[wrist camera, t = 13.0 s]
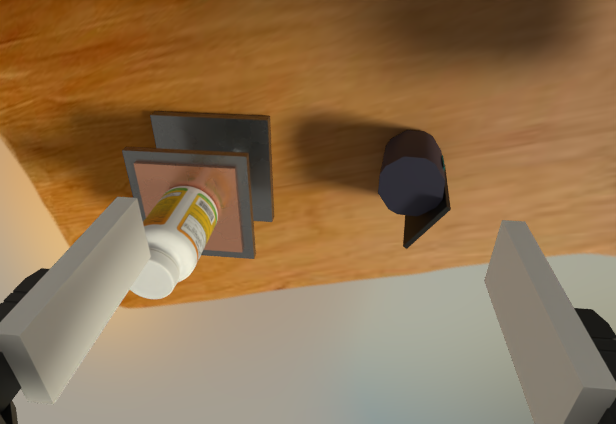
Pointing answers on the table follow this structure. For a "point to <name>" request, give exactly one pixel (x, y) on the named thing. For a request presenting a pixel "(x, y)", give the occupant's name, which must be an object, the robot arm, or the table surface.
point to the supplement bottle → (175, 239)
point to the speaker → (414, 182)
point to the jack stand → (210, 172)
